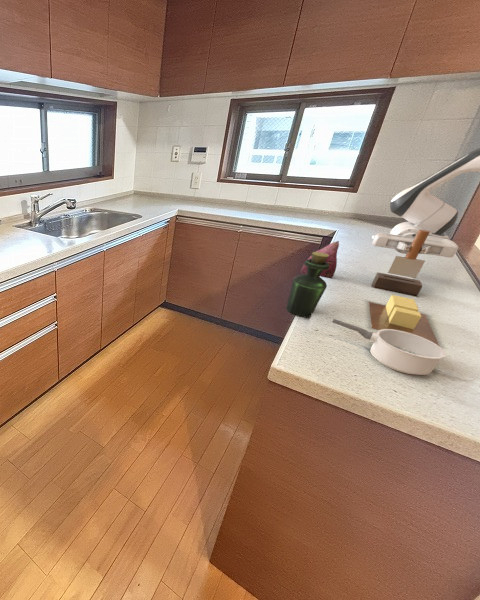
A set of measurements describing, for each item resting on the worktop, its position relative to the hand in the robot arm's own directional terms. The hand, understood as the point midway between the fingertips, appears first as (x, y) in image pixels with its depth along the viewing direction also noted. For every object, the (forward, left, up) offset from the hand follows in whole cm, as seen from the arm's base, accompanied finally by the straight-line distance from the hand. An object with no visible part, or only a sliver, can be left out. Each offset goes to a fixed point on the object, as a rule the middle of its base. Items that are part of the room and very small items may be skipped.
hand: (415, 250), depth 102 cm
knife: (0, -1, -9) cm, 9 cm away
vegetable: (+22, -3, -16) cm, 27 cm away
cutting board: (+1, +28, -15) cm, 32 cm away
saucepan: (+7, +50, -16) cm, 53 cm away
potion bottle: (+24, +37, -16) cm, 47 cm away
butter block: (+1, +23, -14) cm, 27 cm away
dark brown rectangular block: (0, -1, -15) cm, 15 cm away
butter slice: (+1, +30, -14) cm, 33 cm away
